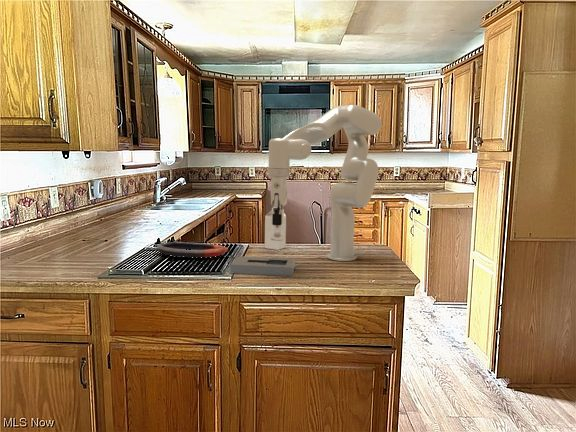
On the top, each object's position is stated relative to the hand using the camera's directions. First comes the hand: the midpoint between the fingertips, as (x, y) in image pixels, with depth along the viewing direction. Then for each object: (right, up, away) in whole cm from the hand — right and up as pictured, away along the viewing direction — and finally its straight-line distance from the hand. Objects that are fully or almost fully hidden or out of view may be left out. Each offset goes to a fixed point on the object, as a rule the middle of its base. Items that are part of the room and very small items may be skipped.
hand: (277, 223), depth 156 cm
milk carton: (-2, -12, +42) cm, 43 cm away
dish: (-36, -14, +23) cm, 45 cm away
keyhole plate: (-5, -17, +3) cm, 18 cm away
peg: (0, -6, +1) cm, 6 cm away
